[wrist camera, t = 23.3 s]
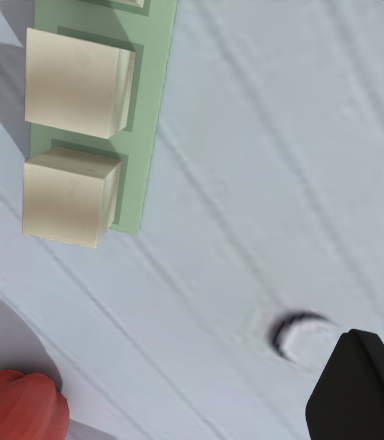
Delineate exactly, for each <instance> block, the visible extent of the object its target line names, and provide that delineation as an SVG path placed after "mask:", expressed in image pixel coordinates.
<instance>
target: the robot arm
mask: <svg viewBox="0 0 384 440" xmlns="http://www.w3.org/2000/svg"><path fill="white" fill-rule="evenodd" d="M305 416H306V422H307V426H308V430H309V434H310V438H311V440H384V344H383V342H382V341H381V339H380V337H379V336H378V335H377V334H375V333H371V332H367V331H362V330H358V329H351V330H350V331H349V332H348V333H343V334H342V335H341V336H340V338H339V340H338V342H337V344H336V346H335V348H334V350H333V352H332V354H331V356H330V358H329V360H328V362H327V364H326V366H325V368H324V370H323V372H322V374H321V376H320V378H319V380H318V382H317V384H316V386H315V388H314V390H313V392H312V394H311V396H310V398H309V400H308V402H307V405H306V411H305Z"/></svg>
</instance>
